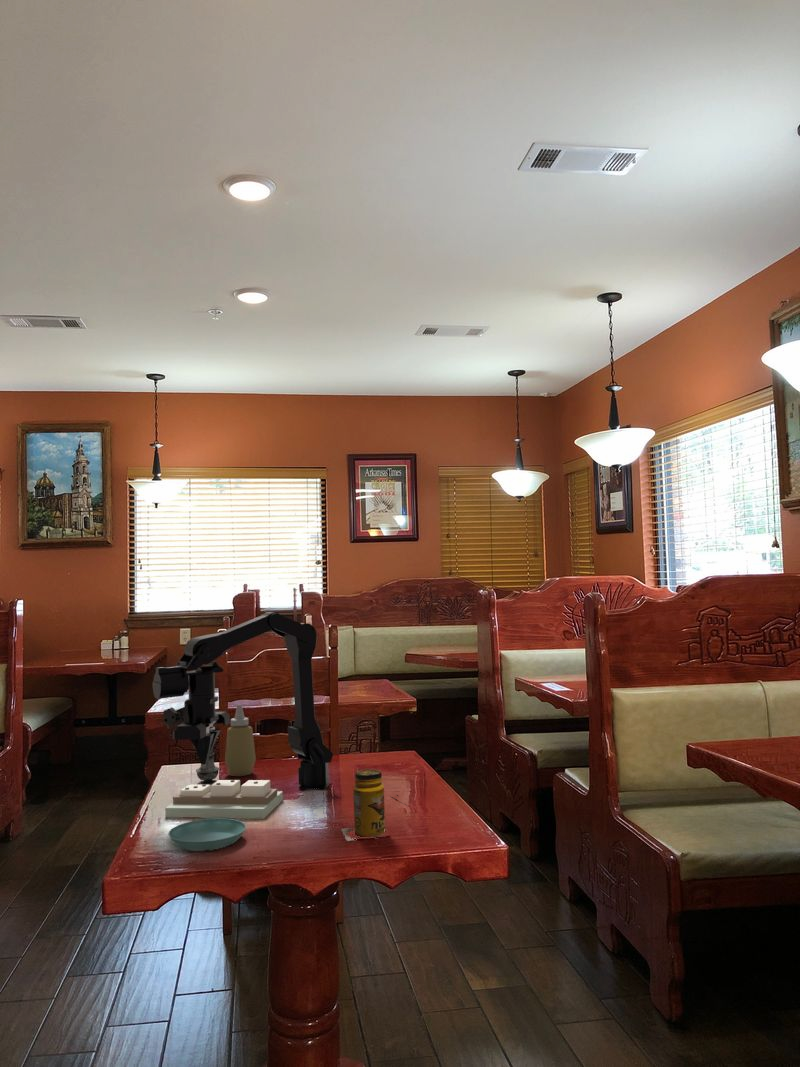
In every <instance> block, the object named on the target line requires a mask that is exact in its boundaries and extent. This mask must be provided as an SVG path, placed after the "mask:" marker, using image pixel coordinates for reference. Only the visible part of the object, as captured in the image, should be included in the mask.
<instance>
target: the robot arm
mask: <svg viewBox="0 0 800 1067" xmlns="http://www.w3.org/2000/svg"><path fill="white" fill-rule="evenodd" d="M270 631H271V632H273V633H274V634H276V635H277V636H279V637H281V638H283V639H284V643H285V646H286V650H287V652H288V655H289V657H290V659H291V663H292V664H291V666H292V681H293V682H292V683H293V700H294V716H295V717H294V721H293V723H292V726H287V728H286V729H287V734H288V740H287V744H289V745H290V749H291V750H292V751H293V752H294V753H295V755H296V757H297V759H298V760H301V761H300V765H299V767H298V768H297V769H298V773H297V774H298V785H299V786H298V789H299V790H326V789H327V788H328V786H330V784H331V783H332V782H331V780H329V779H330V777H329V774H330V773H329V772H330V771H329V763H331V762H332V759H333V755H334V753H333V752H332V751H331V750H330V749H329V748H328V747H327V746H326V745H325V744H324V739H323V736H322V732H321V728H320V725H319V724H318V721H317V720H316V717H315V716H316V715H315V713H316V712H315V700H314V699H315V697H314V695H315V694H314V681H313V680H314V678H313V664H312V660H313V656H314V654H315V651H316V647H317V639H318V632H317V630H316V627H314V626H313V625H312V624H311V623H304V622H299V621H296V620H294V619H290V618H288V617H286V616H283V615H282V614H280V613H278V612H275V611H267V612H264V613H263V614H261V615H259V616H257V617H255V618H252V619H249V620H247V621H245V622H242V623H239V624H238V625H236V626H233V627H231V628H229V629H225V630H223V631H221V632H217V633H210V634H205V635H201V636H196V637H192V638H190V639H188V640H187V641H186V644H185V646H184V652H183V653H182V655H181V656H180V658H179V659H178V661H177V663H176V664H175V666H168V667H166V666H165V667H163V666H159V667H158V666H157V667H155V674H154V676H153V681H152V692H153V696H154V698H155V699H156V700H160V699H161V700H162V699H169V698H170V699H171V698H178V697H183V696H185V693H188V698H187V699H186V700H185V701H184V706H183V707H180V708H178V709H175V708H174V707H169V708H166V709H164V710H162V711H163V712H162V713H163V714H162V716H161V717H162V720H161V722H162V723H163V724H165V725H166V726H167V729H170V728H171V729H172V728H173V727H174V726H176V727H175V728H173V730H172V740H177V741H180V740H182V741H183V740H184V741H185V740H187V741H191V742H192V743H193V746H194V748H195V751H196V754H197V757H198V760H199V763H200V765H201V764H206V763H207V761H208V759H209V756H210V753H211V751H212V748H213V749H214V746H215V743H216V741H217V739H218V737H219V735H220V732H221V731H222V730H221V729H220V728H219V729H216V727H215V724H216V725H217V724H218V725H220V724H222V725H223V726H227V725H229V724H230V725H231V718H230V717H231V715H230V714H229V713H228V712H227V711H216V703H217V702H219V696H218V695H217V696H216V691H215V689H216V687H215V686H216V685H215V673H223V672H224V670H225V669H224V668H223V667H221V666H220V665H219V664H218V663H217V661H215V660H217V659H219V658H220V657H221V656H223V654H225V653H226V652H227V651H229V649H231V648H233V647H236V646H237V645H240V644H242V643H245V642H247V641H249V640H251V639H254V638H256V637H259V636H261V635H264V634H266V633H268V632H270Z"/></svg>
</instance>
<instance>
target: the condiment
mask: <svg viewBox="0 0 800 1067" xmlns="http://www.w3.org/2000/svg"><path fill="white" fill-rule="evenodd" d="M354 778H355V779H354V783H355V784H354V787H353V790H352V791H353V818H354V819H353V820H354V821H353V822H354V827H352V828H348V827H346V828H341V832H342V834H343V837H344V836H345V837H344V838H345V840H346V841H347V842H351V841H358V840H357V839H356V838H354V839H356V840H354V839H353V838H352V839H351V837H350V836H348V835H349V833H348V835H346V834H347V832H350V831H351V830H352V831H353V829H355V835H357V836H360V837H377V836H380V835H382V834H384V833H385V830H386V812H385V789H384V784H383V779H382V778H383V777H382V772H381V770H378V769H371V768H368V769H367V768H366V769H360V770H358V771H356V772H355V773H354ZM352 835H353V834H352Z"/></svg>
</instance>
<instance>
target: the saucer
mask: <svg viewBox="0 0 800 1067" xmlns="http://www.w3.org/2000/svg"><path fill="white" fill-rule="evenodd" d="M246 829H247V825H246V824H245V823H244V822H243V821H241V820H238V819H235V818H202V819H198V820H192V821H188V822H184V823H180V824H179V825H176V826H174V827H172V828H171V829H170V830H169V831H168V834H167V835H168V836H169V838H170V840H171V841H172V842H173V843H174V844H175V845H176V846H177V847H179V848H180V849H182V850H185V851H189V850H190V851H191V852H206V851H205V850H209V851H215V850H214V849H216V850H220V849H219V848H221V849H224V848H227V847H229V845H230V846H232V845H234V844H235V843H236V842H237V841H238V840H239V839H240V838H241V837H242V835H243V834H244V832H245V831H246ZM231 844H232V845H231ZM226 846H227V847H226ZM223 847H224V848H223Z"/></svg>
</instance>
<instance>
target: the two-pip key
mask: <svg viewBox="0 0 800 1067" xmlns="http://www.w3.org/2000/svg"><path fill="white" fill-rule="evenodd" d="M216 781H217V782H215V783H214V784H212V785H211V796H220V797H234V796H235V795H236V794H238V793H239V792H240V789H241V780H240V779H218V780H216Z"/></svg>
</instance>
